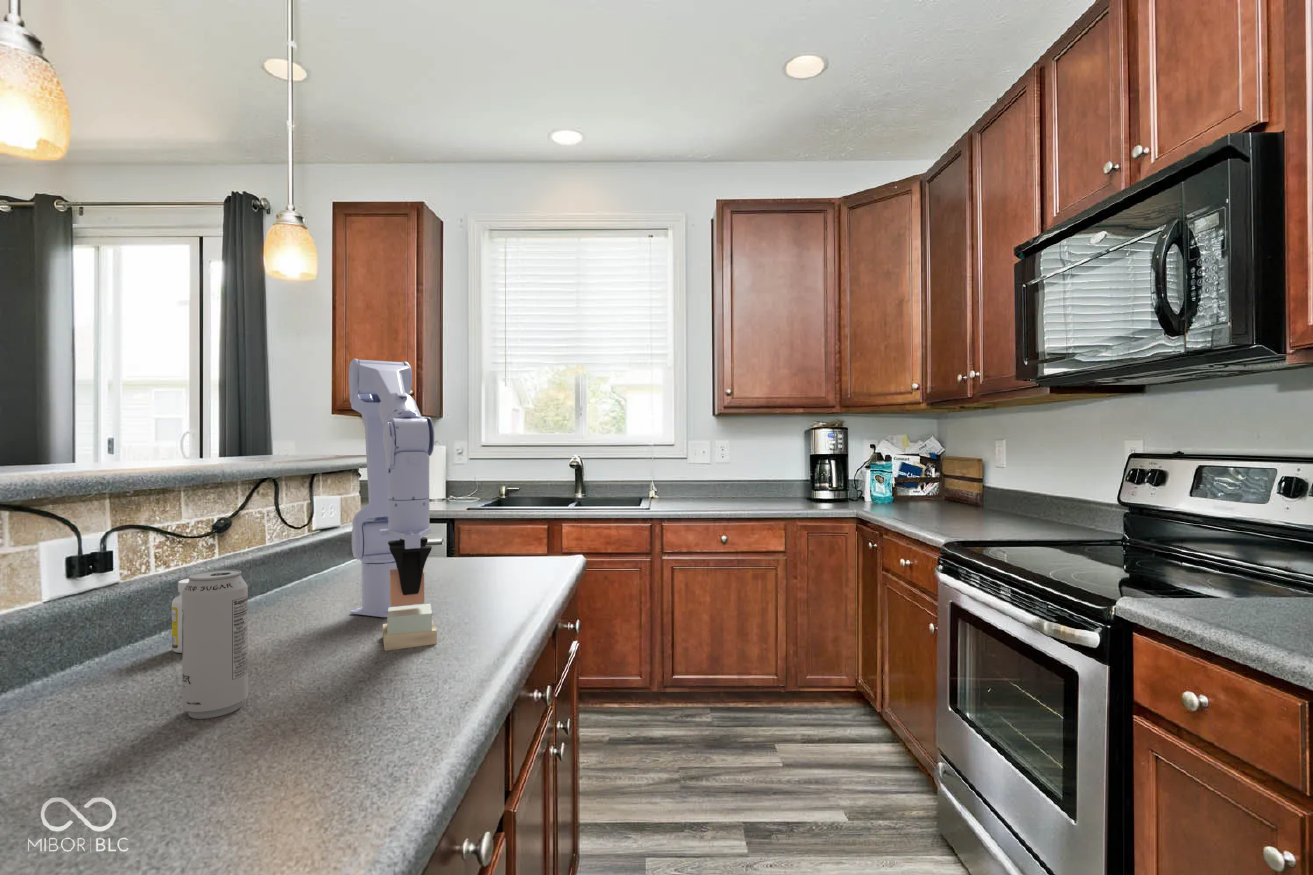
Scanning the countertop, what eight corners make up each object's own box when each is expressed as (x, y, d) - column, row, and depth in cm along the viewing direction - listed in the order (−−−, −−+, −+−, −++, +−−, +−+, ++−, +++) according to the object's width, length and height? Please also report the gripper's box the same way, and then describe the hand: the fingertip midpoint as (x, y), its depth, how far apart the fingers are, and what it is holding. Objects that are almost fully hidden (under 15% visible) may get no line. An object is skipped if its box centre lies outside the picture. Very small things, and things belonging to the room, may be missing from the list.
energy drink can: (192, 702, 73) (191, 570, 73) (253, 695, 75) (253, 566, 76) (173, 724, 68) (173, 581, 68) (240, 715, 70) (240, 576, 70)
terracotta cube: (389, 599, 97) (389, 569, 97) (421, 596, 99) (421, 566, 99) (391, 606, 93) (390, 575, 93) (424, 603, 95) (424, 572, 95)
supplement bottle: (227, 642, 95) (226, 576, 96) (197, 654, 90) (197, 584, 90) (193, 641, 96) (192, 575, 96) (161, 653, 91) (161, 583, 91)
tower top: (388, 623, 98) (388, 607, 98) (430, 619, 100) (430, 603, 100) (387, 635, 92) (387, 617, 92) (432, 630, 94) (431, 613, 94)
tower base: (382, 640, 98) (382, 623, 98) (431, 634, 101) (431, 618, 101) (384, 654, 91) (384, 636, 91) (436, 647, 94) (436, 630, 94)
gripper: (378, 496, 101) (378, 583, 101) (381, 504, 88) (381, 604, 88) (426, 494, 104) (426, 578, 104) (435, 502, 91) (436, 598, 91)
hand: (409, 590), depth 96 cm, fingers closed on terracotta cube, 4 cm apart
